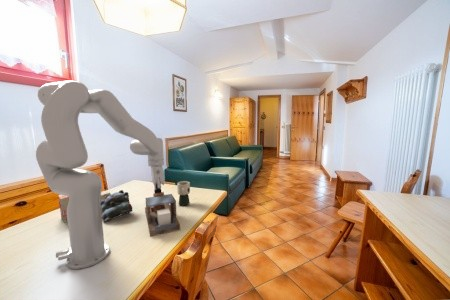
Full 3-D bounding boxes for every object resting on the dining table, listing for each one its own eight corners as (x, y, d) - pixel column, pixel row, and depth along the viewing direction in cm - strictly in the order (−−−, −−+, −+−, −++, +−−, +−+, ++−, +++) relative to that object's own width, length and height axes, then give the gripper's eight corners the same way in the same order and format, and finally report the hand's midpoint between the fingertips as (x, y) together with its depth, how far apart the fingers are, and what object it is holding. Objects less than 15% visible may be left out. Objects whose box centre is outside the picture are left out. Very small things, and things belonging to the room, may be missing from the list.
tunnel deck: (150, 236, 82) (148, 212, 80) (145, 211, 105) (144, 192, 104) (180, 229, 87) (179, 206, 86) (169, 207, 111) (168, 188, 109)
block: (159, 228, 84) (158, 215, 83) (157, 223, 88) (156, 210, 87) (171, 225, 86) (170, 212, 85) (168, 220, 90) (168, 208, 90)
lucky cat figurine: (96, 224, 92) (91, 195, 95) (109, 222, 103) (104, 196, 107) (128, 213, 94) (122, 185, 97) (138, 212, 105) (132, 187, 108)
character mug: (190, 207, 110) (189, 185, 108) (177, 208, 109) (176, 186, 107) (190, 200, 121) (189, 179, 119) (178, 201, 120) (177, 180, 118)
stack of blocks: (108, 205, 113) (106, 185, 112) (112, 208, 109) (110, 187, 108) (60, 218, 98) (58, 195, 96) (63, 222, 94) (60, 198, 92)
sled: (155, 231, 81) (154, 210, 79) (150, 211, 99) (149, 194, 97) (176, 227, 84) (175, 206, 83) (167, 208, 102) (167, 191, 101)
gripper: (166, 164, 94) (168, 200, 97) (161, 159, 107) (163, 191, 110) (149, 166, 91) (152, 203, 93) (146, 160, 104) (148, 193, 107)
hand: (158, 196), depth 102 cm, fingers closed
